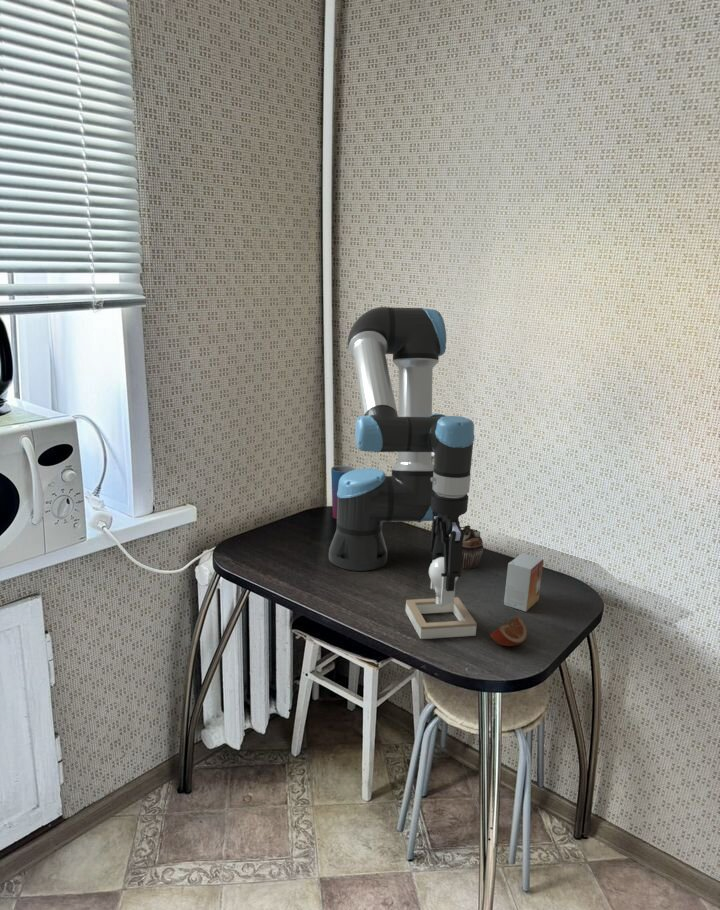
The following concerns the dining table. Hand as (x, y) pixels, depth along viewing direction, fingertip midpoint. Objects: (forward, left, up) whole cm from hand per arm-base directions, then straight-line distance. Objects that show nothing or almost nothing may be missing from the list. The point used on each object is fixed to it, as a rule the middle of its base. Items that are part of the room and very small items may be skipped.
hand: (441, 595), depth 152 cm
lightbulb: (0, 0, -3) cm, 3 cm away
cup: (-66, -10, -7) cm, 67 cm away
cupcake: (-30, +16, -7) cm, 35 cm away
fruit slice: (+10, +12, -7) cm, 17 cm away
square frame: (0, 0, -7) cm, 7 cm away
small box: (-7, +22, -7) cm, 24 cm away
